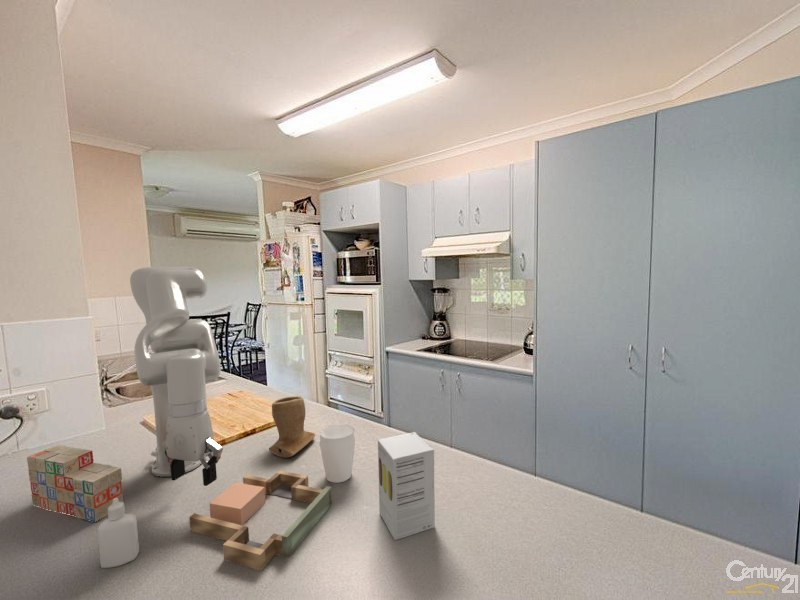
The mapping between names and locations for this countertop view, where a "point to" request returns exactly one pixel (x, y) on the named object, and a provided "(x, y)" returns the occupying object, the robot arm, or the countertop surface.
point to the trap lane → (260, 554)
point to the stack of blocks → (73, 482)
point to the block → (237, 503)
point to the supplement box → (406, 484)
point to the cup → (337, 451)
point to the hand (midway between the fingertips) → (194, 480)
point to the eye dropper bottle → (118, 537)
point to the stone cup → (290, 426)
